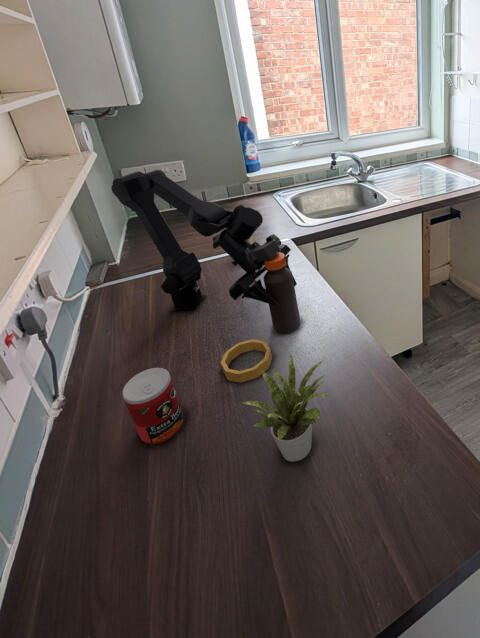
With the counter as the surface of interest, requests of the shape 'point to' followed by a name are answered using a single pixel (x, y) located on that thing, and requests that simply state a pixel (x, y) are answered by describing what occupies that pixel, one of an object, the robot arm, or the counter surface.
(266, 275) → the vinegar
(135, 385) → the canned food
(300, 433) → the house plant
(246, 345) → the yellow flat ring
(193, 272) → the robot arm
